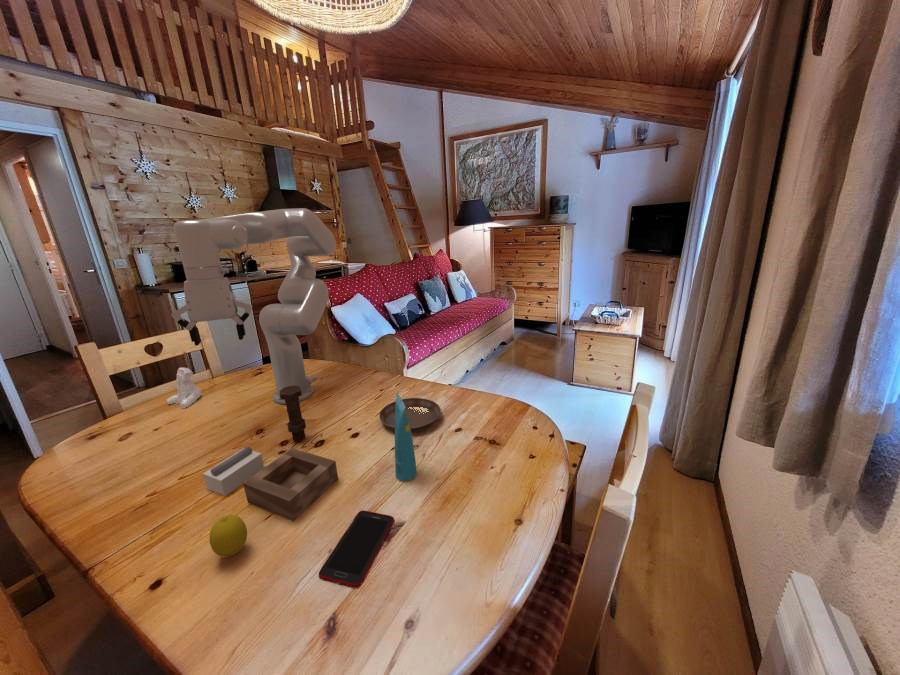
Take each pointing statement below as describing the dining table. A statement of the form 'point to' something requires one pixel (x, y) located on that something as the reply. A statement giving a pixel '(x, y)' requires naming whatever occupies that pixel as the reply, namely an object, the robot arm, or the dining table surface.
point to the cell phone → (357, 549)
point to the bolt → (294, 412)
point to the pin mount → (233, 471)
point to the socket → (291, 483)
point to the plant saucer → (412, 414)
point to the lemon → (228, 535)
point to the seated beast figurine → (185, 389)
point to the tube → (403, 444)
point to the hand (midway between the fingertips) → (220, 341)
